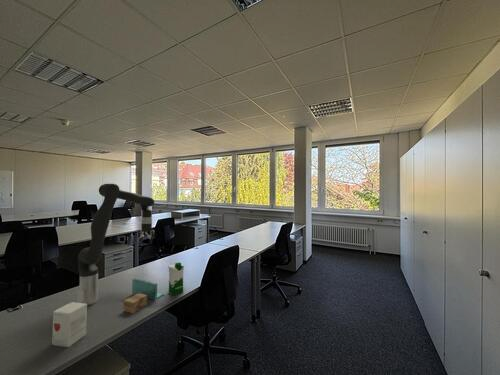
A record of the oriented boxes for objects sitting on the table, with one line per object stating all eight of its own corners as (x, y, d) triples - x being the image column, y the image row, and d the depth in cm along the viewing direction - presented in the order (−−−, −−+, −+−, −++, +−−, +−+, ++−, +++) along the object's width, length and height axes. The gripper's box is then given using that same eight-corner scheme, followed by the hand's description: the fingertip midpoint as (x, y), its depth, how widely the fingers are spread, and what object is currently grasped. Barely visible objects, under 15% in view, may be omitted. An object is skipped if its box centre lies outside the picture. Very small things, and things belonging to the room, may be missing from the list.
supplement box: (51, 345, 96) (52, 311, 97) (70, 332, 105) (71, 301, 106) (68, 347, 95) (69, 313, 95) (86, 334, 104) (87, 303, 104)
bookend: (154, 300, 137) (155, 284, 137) (132, 294, 145) (132, 279, 145) (163, 294, 144) (164, 279, 144) (141, 289, 152) (142, 275, 152)
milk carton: (173, 296, 142) (174, 265, 142) (166, 292, 148) (166, 262, 148) (185, 291, 149) (185, 262, 149) (177, 288, 155) (178, 259, 155)
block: (132, 313, 122) (133, 302, 122) (123, 311, 125) (124, 300, 125) (147, 305, 132) (147, 295, 132) (138, 302, 134) (138, 293, 134)
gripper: (135, 222, 170) (134, 243, 169) (150, 223, 166) (150, 245, 165) (142, 221, 177) (142, 241, 176) (157, 222, 173) (156, 243, 173)
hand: (145, 243), depth 171 cm, fingers open, 8 cm apart
